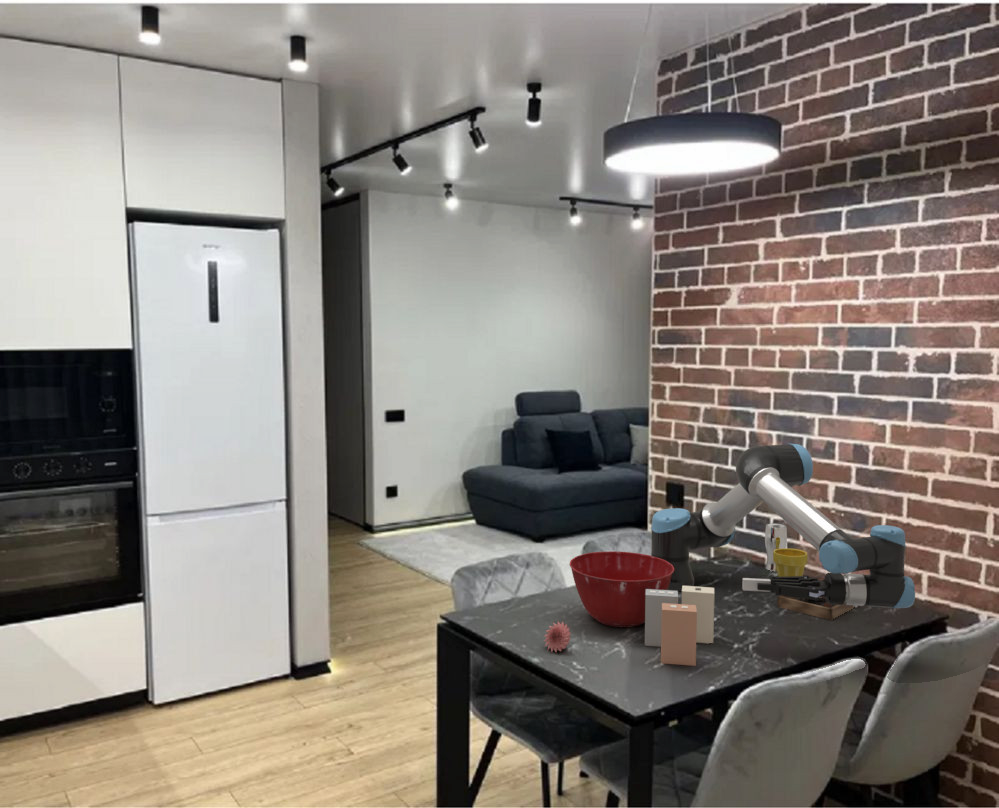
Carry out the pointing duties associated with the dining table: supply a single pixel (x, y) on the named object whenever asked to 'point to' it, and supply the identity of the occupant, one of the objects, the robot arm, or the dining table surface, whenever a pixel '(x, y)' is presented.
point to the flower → (557, 637)
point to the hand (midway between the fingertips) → (742, 584)
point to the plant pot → (790, 561)
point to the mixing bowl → (618, 584)
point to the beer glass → (774, 542)
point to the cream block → (701, 610)
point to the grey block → (656, 613)
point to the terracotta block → (678, 634)
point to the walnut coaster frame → (812, 607)
